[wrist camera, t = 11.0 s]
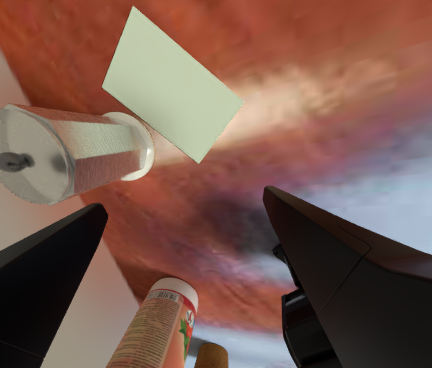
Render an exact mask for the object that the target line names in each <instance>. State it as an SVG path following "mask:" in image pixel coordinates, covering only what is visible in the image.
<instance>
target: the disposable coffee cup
mask: <svg viewBox="0 0 432 368" xmlns="http://www.w3.org/2000/svg"><path fill="white" fill-rule="evenodd" d="M194 368H228V353H227V351H226V350H225V349H224V348H223V347H221V346H219V345H216V344H211V343H208V344H203V345H202V346H200V348H199V352H198V356H197V359H196V363H195V367H194Z"/></svg>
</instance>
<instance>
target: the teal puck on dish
mask: <svg viewBox="0 0 432 368" xmlns="http://www.w3.org/2000/svg"><path fill="white" fill-rule="evenodd" d="M102 116H107V117H114V118H117V119H120V120H122V121H125V122H127V123H130V124H132V125H135V126H137V128H138V130H139V132H140V134H141V136H142V137H143V139H144V141H145V143H146V145H147V147H148V152H147V157H146V161H145V166H144V169H142V170H140V171H138V172H135V173H133V174H131V175H129V176H127V177H124V178H122V179H121V180H127V181H128V180H135V179H138V178H141V177H142V176H144V175H146V174H147V173H148V172H149V170H150V169H151V167H152V165H153V163H154V159H155V147H154V143H153V139H152V137H151V135H150V133H149V131H148V130H147V128H146V127H145V126H144V125H143V124H142V123H141V122H140V121H139V120H138V119H136V118H135V117H133V116H131V115H128V114H125V113H120V112H109V113H106V114H104V115H102Z"/></svg>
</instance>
